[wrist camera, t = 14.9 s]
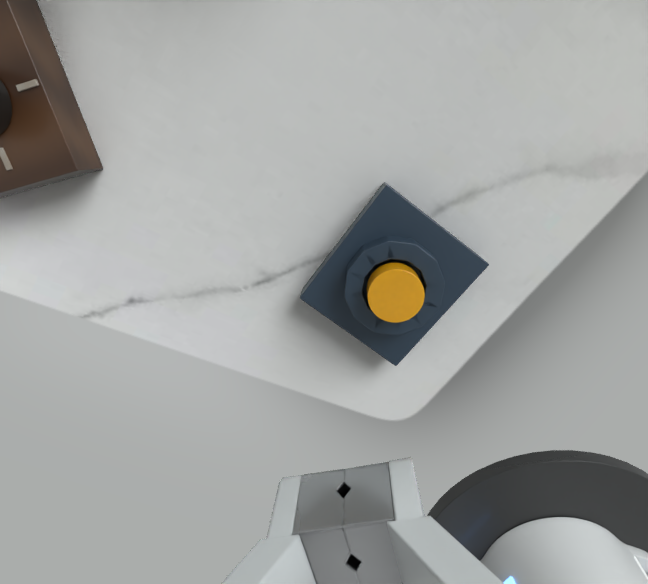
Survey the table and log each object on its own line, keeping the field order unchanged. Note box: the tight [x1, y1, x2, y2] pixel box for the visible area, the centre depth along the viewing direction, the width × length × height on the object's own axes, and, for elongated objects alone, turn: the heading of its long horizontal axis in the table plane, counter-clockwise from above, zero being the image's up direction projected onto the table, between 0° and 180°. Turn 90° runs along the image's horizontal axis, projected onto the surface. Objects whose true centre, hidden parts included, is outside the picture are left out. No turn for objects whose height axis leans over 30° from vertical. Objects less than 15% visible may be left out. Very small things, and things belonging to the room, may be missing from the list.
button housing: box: [300, 182, 489, 366], centre depth 30 cm, size 10×9×4 cm
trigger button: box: [367, 262, 425, 323], centre depth 27 cm, size 4×4×2 cm
